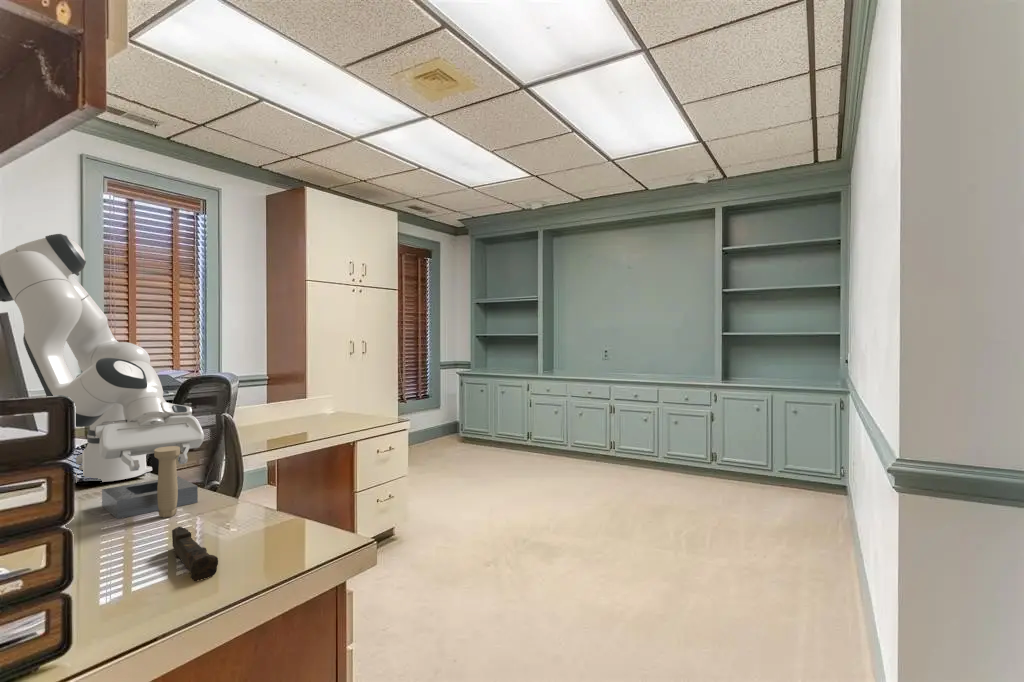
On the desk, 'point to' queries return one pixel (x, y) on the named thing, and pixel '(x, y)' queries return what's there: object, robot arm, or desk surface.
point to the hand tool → (193, 555)
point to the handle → (167, 480)
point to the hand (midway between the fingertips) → (160, 465)
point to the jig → (143, 497)
